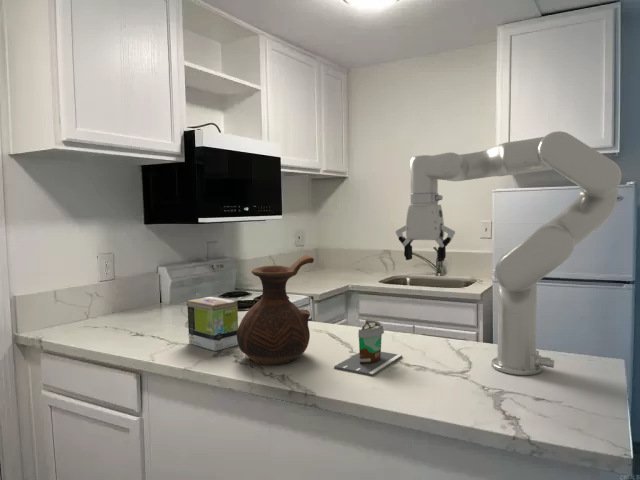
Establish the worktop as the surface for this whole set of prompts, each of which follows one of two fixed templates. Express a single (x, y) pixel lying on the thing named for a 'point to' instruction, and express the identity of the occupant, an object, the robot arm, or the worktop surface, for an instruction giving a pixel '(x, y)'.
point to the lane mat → (368, 369)
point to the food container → (370, 342)
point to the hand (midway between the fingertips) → (424, 260)
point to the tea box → (213, 322)
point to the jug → (275, 319)
